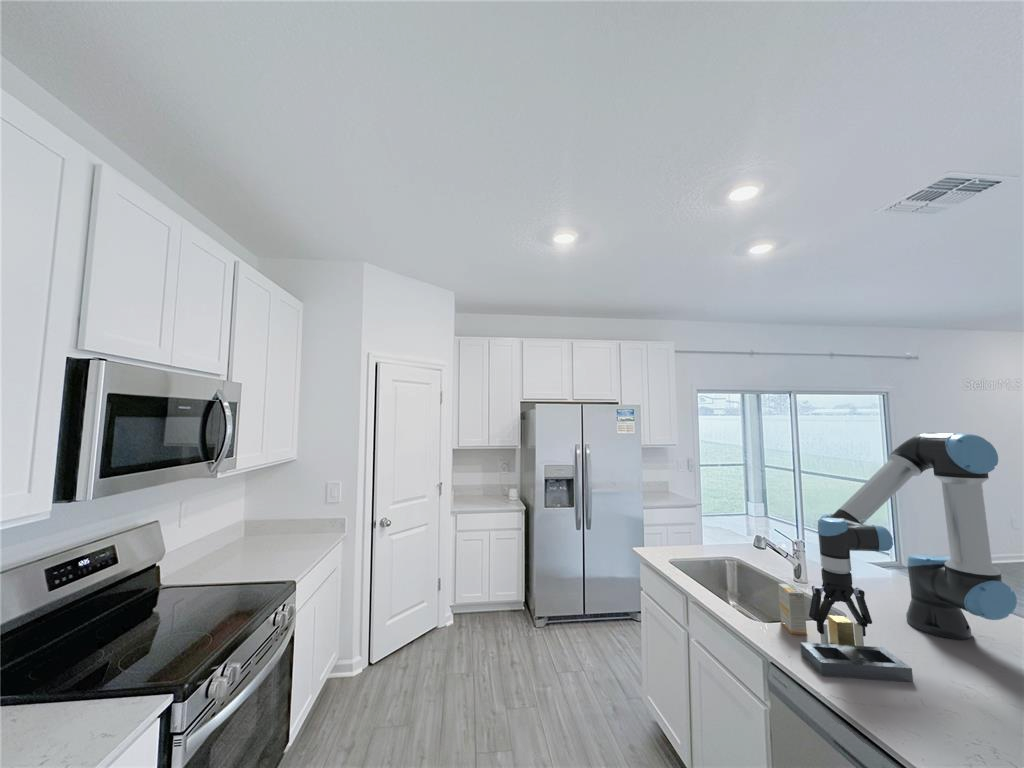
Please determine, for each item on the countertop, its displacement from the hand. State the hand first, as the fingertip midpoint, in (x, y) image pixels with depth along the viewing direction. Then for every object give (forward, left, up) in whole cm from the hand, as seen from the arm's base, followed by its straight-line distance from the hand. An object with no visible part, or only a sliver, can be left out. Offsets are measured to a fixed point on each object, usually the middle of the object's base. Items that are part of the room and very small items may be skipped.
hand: (842, 645), depth 128 cm
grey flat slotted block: (+4, +12, 0) cm, 13 cm away
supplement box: (+9, -10, 0) cm, 13 cm away
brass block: (0, 0, 0) cm, 0 cm away
